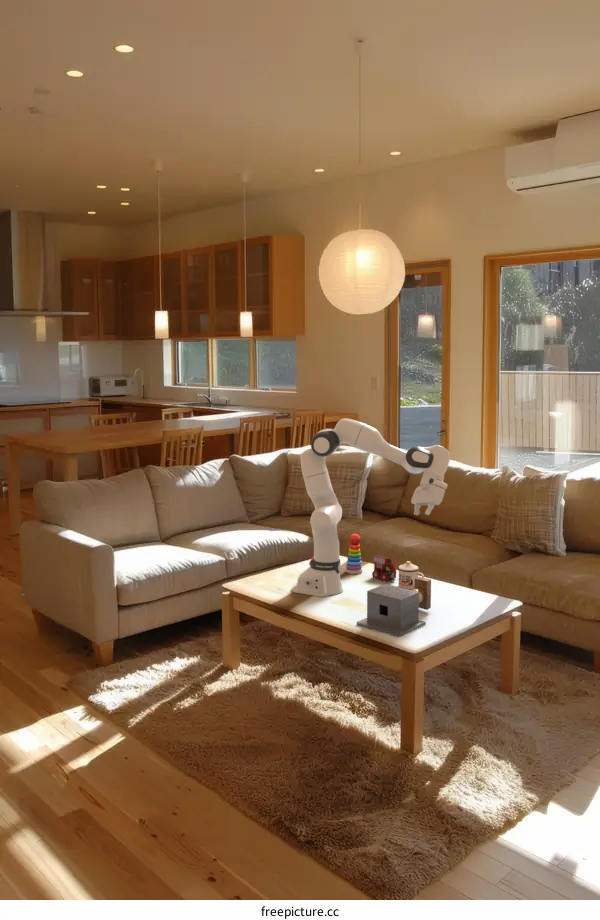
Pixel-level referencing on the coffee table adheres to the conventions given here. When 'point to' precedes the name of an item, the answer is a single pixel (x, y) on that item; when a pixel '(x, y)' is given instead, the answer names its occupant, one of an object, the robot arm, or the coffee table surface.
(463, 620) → the coffee table surface
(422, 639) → the coffee table surface
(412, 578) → the teacup with lid
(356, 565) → the stacking toy
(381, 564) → the toy fire truck
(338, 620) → the coffee table surface
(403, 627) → the bearing block
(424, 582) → the shaft
